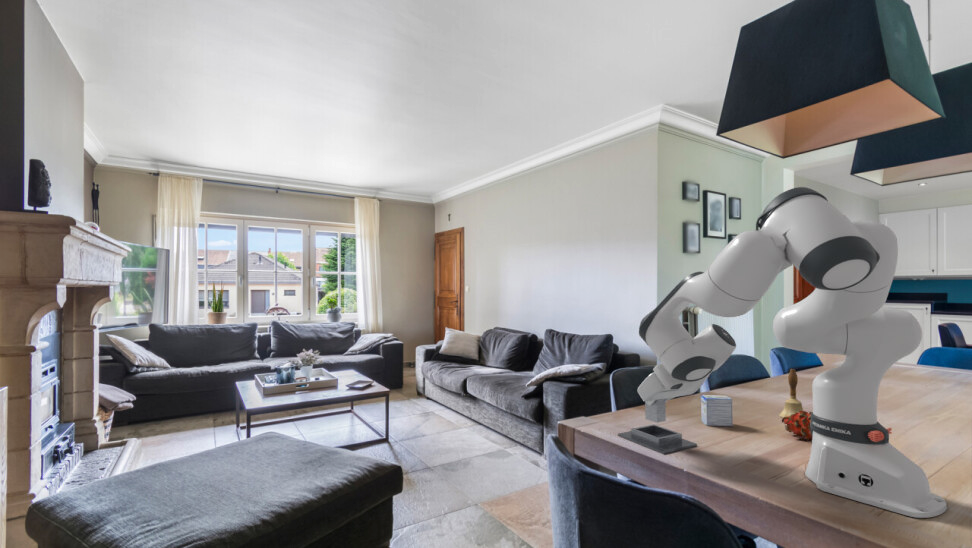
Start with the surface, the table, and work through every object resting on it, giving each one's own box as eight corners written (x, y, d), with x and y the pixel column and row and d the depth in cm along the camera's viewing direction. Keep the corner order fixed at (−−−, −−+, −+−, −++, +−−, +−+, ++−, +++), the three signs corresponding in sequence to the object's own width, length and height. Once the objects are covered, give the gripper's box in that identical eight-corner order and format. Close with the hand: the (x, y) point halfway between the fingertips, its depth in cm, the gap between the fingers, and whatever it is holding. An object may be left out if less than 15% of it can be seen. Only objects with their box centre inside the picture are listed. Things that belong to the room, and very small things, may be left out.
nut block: (665, 420, 122) (665, 386, 123) (656, 422, 120) (656, 388, 121) (654, 417, 126) (653, 384, 126) (645, 418, 124) (645, 385, 124)
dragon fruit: (830, 452, 119) (785, 445, 130) (841, 430, 123) (796, 424, 134) (814, 428, 118) (770, 422, 129) (825, 406, 122) (782, 402, 133)
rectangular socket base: (696, 446, 119) (696, 436, 119) (663, 454, 113) (663, 443, 113) (649, 429, 133) (649, 420, 133) (618, 435, 127) (618, 426, 127)
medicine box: (726, 422, 141) (726, 395, 141) (733, 427, 136) (732, 398, 136) (701, 421, 141) (700, 394, 142) (706, 426, 137) (706, 398, 137)
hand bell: (773, 413, 151) (772, 367, 151) (797, 414, 151) (796, 367, 151) (789, 421, 142) (788, 371, 143) (815, 421, 142) (814, 371, 143)
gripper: (703, 360, 122) (673, 389, 130) (651, 365, 112) (622, 396, 121) (718, 379, 118) (686, 407, 126) (665, 386, 108) (635, 416, 117)
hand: (655, 402), depth 123 cm, fingers closed on nut block, 3 cm apart
